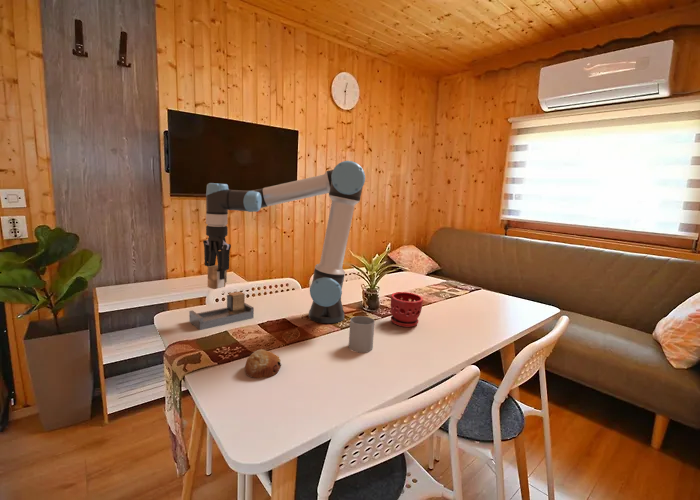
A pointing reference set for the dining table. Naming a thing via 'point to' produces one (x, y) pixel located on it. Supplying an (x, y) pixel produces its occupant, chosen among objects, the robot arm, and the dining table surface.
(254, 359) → the bread roll
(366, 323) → the cup
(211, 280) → the block
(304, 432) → the dining table surface
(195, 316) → the grey tray
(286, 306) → the dining table surface
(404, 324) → the plant pot
